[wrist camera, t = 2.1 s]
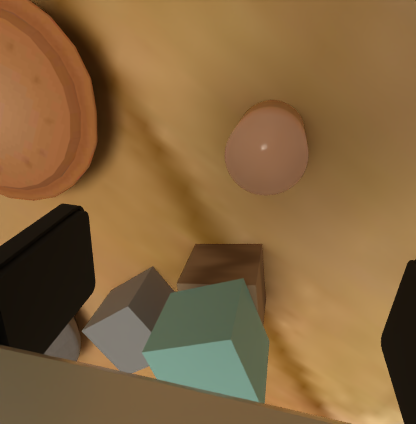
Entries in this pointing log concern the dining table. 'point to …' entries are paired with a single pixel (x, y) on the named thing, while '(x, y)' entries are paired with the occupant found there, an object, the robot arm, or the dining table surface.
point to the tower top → (211, 341)
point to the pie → (42, 105)
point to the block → (129, 319)
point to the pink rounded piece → (267, 149)
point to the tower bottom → (227, 269)
